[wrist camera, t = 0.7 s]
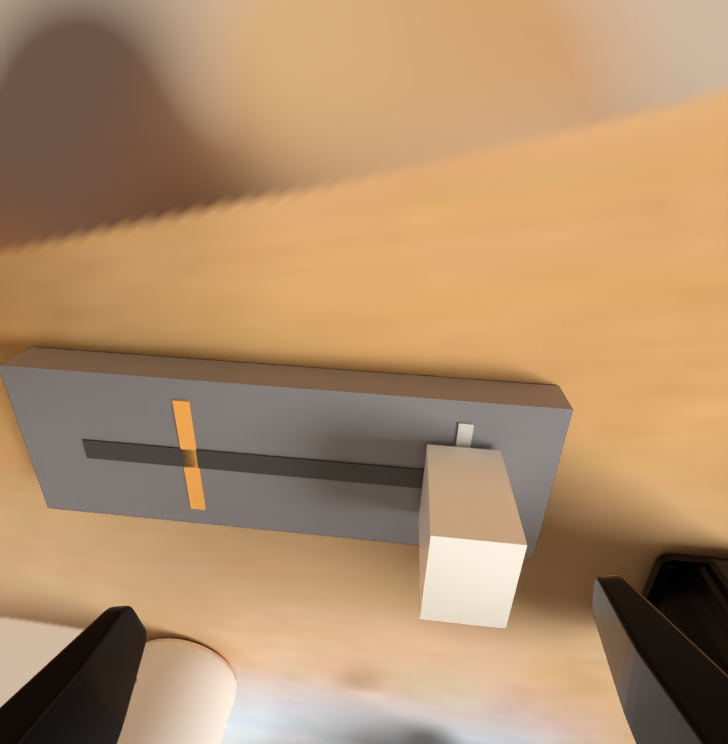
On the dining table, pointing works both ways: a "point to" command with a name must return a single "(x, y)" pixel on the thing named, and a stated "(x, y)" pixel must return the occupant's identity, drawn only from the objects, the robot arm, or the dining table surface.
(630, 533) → the dining table surface
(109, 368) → the console
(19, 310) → the dining table surface
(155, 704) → the milk bottle
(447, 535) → the fader cap
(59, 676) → the robot arm
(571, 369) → the dining table surface
